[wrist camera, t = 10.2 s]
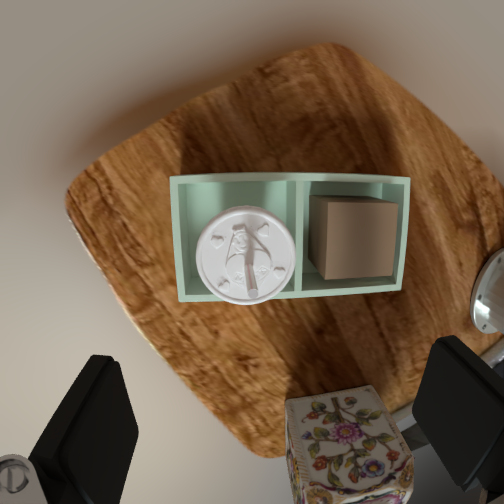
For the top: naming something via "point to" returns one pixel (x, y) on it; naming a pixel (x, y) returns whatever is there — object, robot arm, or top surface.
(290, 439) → the decorative jar
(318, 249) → the walnut block
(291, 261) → the white cup
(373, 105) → the top surface
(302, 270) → the tote
